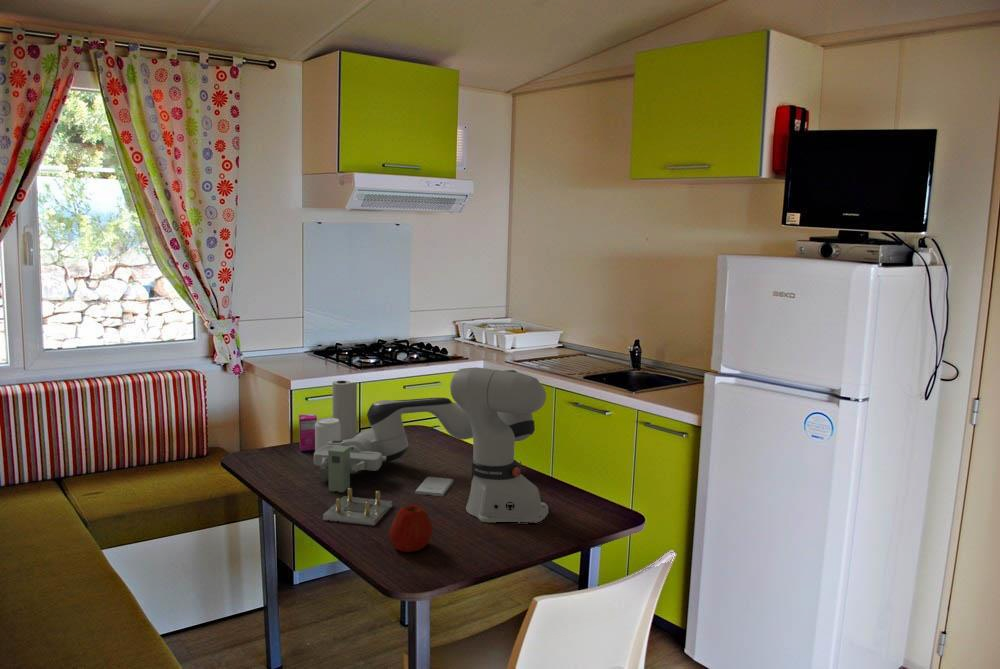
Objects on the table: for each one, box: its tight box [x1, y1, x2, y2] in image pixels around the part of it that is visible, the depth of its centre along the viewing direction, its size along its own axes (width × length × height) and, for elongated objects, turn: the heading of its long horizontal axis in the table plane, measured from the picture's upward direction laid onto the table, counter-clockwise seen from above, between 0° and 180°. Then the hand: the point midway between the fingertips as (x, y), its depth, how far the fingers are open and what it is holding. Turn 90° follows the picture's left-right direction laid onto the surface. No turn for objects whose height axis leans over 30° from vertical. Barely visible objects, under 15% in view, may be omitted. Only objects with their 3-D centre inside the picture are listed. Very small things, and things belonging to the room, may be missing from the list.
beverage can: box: [314, 417, 341, 453], centre depth 263 cm, size 8×8×12 cm
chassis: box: [322, 487, 393, 526], centre depth 217 cm, size 14×14×5 cm
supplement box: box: [298, 413, 318, 453], centre depth 270 cm, size 6×6×12 cm
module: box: [327, 446, 351, 493], centre depth 234 cm, size 4×5×12 cm
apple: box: [389, 504, 433, 553], centre depth 197 cm, size 10×10×10 cm
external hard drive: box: [414, 476, 454, 498], centre depth 238 cm, size 2×8×12 cm
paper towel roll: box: [331, 380, 358, 440], centre depth 277 cm, size 7×6×21 cm
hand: (338, 467), depth 234 cm, fingers open, 8 cm apart
